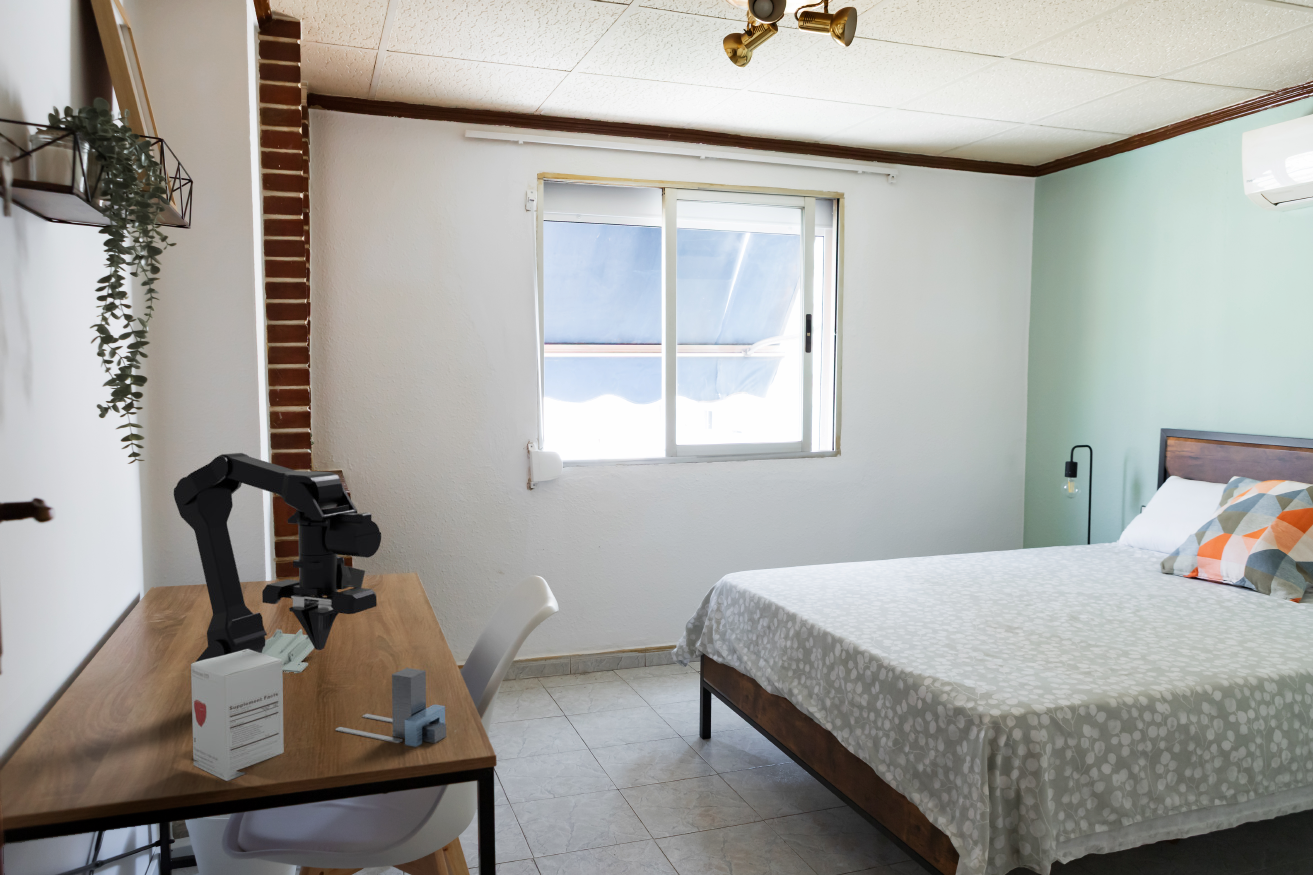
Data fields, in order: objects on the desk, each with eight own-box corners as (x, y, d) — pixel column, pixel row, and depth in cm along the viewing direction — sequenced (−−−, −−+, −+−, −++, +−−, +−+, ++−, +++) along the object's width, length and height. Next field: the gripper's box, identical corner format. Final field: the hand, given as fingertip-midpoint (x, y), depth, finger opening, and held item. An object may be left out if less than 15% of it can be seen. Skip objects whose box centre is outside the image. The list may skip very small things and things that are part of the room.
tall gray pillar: (392, 735, 133) (392, 674, 133) (407, 727, 136) (407, 667, 136) (433, 743, 130) (432, 681, 130) (447, 735, 134) (447, 673, 133)
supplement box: (190, 766, 125) (188, 662, 124) (250, 745, 132) (248, 647, 131) (225, 782, 120) (223, 674, 119) (285, 759, 127) (284, 658, 126)
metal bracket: (267, 622, 180) (334, 626, 178) (273, 646, 182) (339, 651, 179) (223, 662, 167) (294, 667, 164) (229, 688, 169) (300, 693, 166)
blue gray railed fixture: (333, 737, 135) (332, 706, 135) (366, 720, 142) (366, 691, 142) (415, 754, 129) (414, 722, 129) (446, 735, 136) (445, 705, 136)
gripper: (399, 548, 143) (400, 642, 144) (311, 540, 151) (312, 630, 151) (350, 560, 133) (351, 662, 134) (258, 551, 140) (260, 647, 141)
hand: (319, 649), depth 140 cm, fingers closed
